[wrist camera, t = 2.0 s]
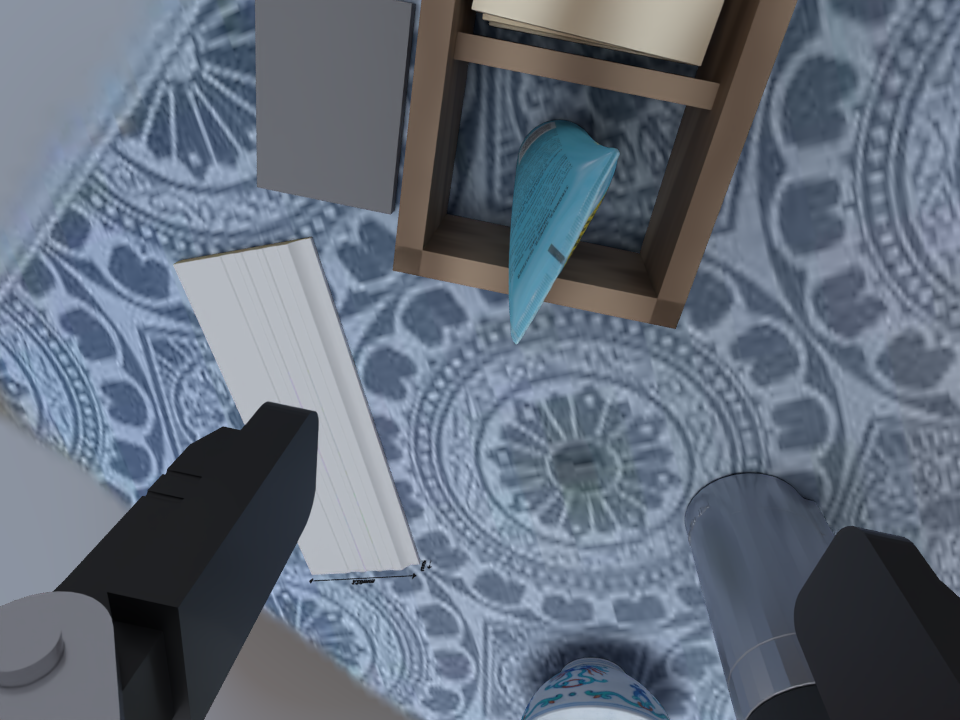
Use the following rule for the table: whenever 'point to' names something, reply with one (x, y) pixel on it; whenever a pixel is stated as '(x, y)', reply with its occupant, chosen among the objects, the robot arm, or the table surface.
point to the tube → (551, 210)
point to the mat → (332, 98)
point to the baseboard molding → (304, 394)
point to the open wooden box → (708, 97)
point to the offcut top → (621, 22)
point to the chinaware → (593, 695)
